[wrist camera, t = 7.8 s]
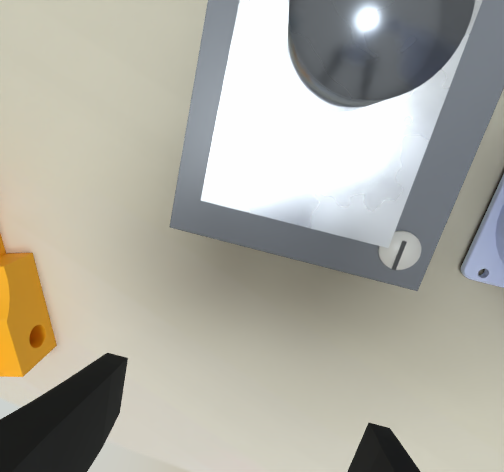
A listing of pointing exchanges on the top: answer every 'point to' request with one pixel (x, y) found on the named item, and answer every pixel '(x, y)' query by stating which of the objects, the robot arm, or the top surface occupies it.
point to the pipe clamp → (22, 315)
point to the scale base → (422, 191)
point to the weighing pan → (314, 139)
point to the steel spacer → (369, 47)
